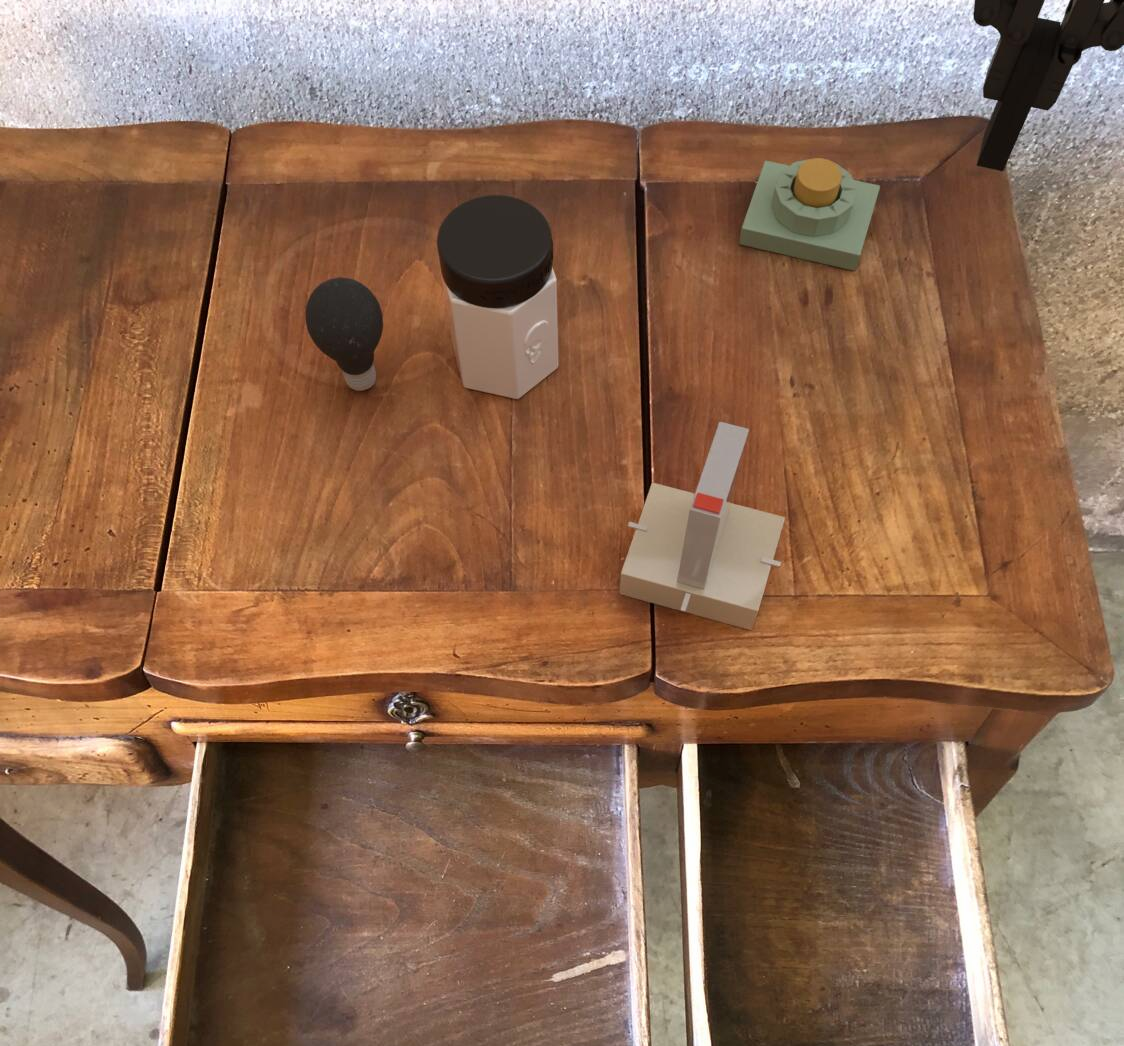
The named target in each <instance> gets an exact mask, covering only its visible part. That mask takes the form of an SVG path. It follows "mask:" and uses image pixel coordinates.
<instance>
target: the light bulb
mask: <svg viewBox="0 0 1124 1046" xmlns="http://www.w3.org/2000/svg"><path fill="white" fill-rule="evenodd" d="M304 319H305V325H306V329H307V332H308V333H307V334H308V335H309V336H310V339H311V340H312V342H313V344H314V345H315V346H316V348H318V350H319V351H321V352H322V353H323V354H324V355H326V356H327V357H328V358H330V359H332V360H333V361H335V363H336V365H337V366H338V368H339V369H340V370H341V371H342V375H343V378H344V381H345V383H346V384H347V386H348V387H349V388H350V389H352V390H354V391H366V390H368V389H370V388H371V387H372V386H373V385H374V384H375V383H376V381H377V375H376V373H377V371H376V368H375V364H374V362H375V361H374V360H375V351H376V349H377V347H378V345H379V343H380V341H381V339H382V335H383V330H384V315H383V312H382V308H381V305H380V302H379V301H378V298H377V297H376V296H375V295H374V293H373V292H372V291H371V290H370V289H369V288H368V287H367V286H366V285H365V284H363V283H362V282H360V281H357V280H355V279H353V278H350V277H349V278H348V277H340V276H339V277H333V278H329V279H327V280H325V281H323V282H321V283H320V284H318V285H317V287H316V288H315V289H313V291H312V292H311V294H310V295H309V298H308V300H307V303H306V306H305V318H304Z"/></svg>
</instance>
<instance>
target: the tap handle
mask: <svg viewBox="0 0 1124 1046" xmlns="http://www.w3.org/2000/svg"><path fill="white" fill-rule="evenodd" d="M749 433H750V428H747V427H743V426H739V425H736V424H732V423H727V422H725V421H724V422H723V421H719V422H718V424H717V427H716V429H715V433H714V435H713V439H712V441H711V445H710V448H709V451H708V454H707V457H706V459H705V462H704V466H703V468H702V471H701V475H700V477H699V480H698V484H697V486H696V489H695V492H694V493H695V495H694V498H693V501H692V504H691V507H690V510H689V516H688V522H687V527H686V533H685V538H684V544H683V550H682V555H681V561H680V567H679V572H678V578H677V582H680V583H684V584H688V585H691V586H695V587H698V588H702V589H704V588H705V585H706V582H707V579H708V576H709V573H710V570H711V567H712V564H713V560H714V557H715V554H716V551H717V548H718V545H719V542H720V539H721V536H722V533H723V529H724V526H725V523H726V520H727V517H728V514H729V511H730V508H731V503H733V499H734V495H735V492H736V491H735V490H736V487H737V484H738V478H739V475H740V470H741V466H742V461H743V458H744V453H745V449H746V446H747V441H748V437H749Z"/></svg>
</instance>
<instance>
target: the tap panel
mask: <svg viewBox="0 0 1124 1046" xmlns="http://www.w3.org/2000/svg"><path fill="white" fill-rule="evenodd" d="M694 495H695V492H692V491H691V492H690V491H686V490H683V489H679V488H676V487H671V486H668V485H664V484H660V483H656V482H651V484H650V487H649V489H648V492H647V496H646V498H645V502H644V505H643V507H642V510H641V514H640V516H639V519H638V521H637V523H636V522H633V521H628V525H627V527H628V528H631V529H635V530H634V533H633V537H632V539H631V542H630V545H629V547H628V551H627V554H626V556H625V560H624V563H623V566H622V569H621V571H620V579H619V591H618V593H619V595H622V596H625V597H629V598H633V599H636V600H640V601H642V602H647V603H649V604H650V603H651V604H655V605H658V606H661V607H665V608H668V609H671V610H676V611H680V612H683V613H687V614H691V615H693V616H698V617H702V618H704V619H708V620H712V621H716V622H718V623H719V622H720V623H724V624H727V625H730V626H734V627H737V628H741V629H746V630H748V631H752V630H753V628H754V625H755V623H756V619H757V616H758V613H759V610H760V607H761V603H762V601H763V600H762V599H763V596H764V593H765V589H766V586H767V582H768V579H769V576H770V573H771V569H772V566H774V567H777V568H781V565H782V561H779V560H775V559H774V558H775V555H776V551H777V548H778V544H779V542H780V538H781V534H782V530H783V527H784V524H785V520H786V517H785V516H783V515H782V516H781V515H779V514H774V513H770V512H767V511H764V510H760V509H755V508H752V507H747V506H744V505H740V504H737V503H733V502H732V503H731V508H730V511H729V514H728V517H727V520H726V523H725V526H724V529H723V533H722V536H721V539H720V542H719V545H718V548H717V551H716V554H715V557H714V560H713V564H712V567H711V570H710V573H709V576H708V579H707V582H706V585H705V588H704V589H702V588H698V587H695V586H691V585H688V584H684V583H680V582H677V578H678V572H679V567H680V561H681V555H682V550H683V544H684V538H685V533H686V527H687V522H688V516H689V510H690V507H691V504H692V501H693V498H694Z"/></svg>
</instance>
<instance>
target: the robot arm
mask: <svg viewBox="0 0 1124 1046" xmlns="http://www.w3.org/2000/svg"><path fill="white" fill-rule="evenodd" d="M1045 1H1046V0H974V5H973V13H972V16H973V21H974V22H975V24H976V25H978V26H979V27H984V28H985V27H990V26H991V27H992V28H994V29H995V30H996V31H997V33H999V39H998V42H997V44H996V47H995V50H994V53H993V54H992V57H991V60H990V63H989V65H988V68H987V70H986V75H985V77H984V78H985V79H984V82H983V87H982V97H983V99H987V100H991V101H992V100H993V101H996V103H995V106H994V109H993V111H992V113H991V116H990V118H989V121H988V123H987V125H986V128H985V131H984V134H983V138H982V142H981V146H980V150H979V154H978V158H977V163H976V167H982V168H985V169H991V170H995V171H999V172H1004V170H1005V168H1006V166H1007V164H1008V162H1009V159H1010V158H1011V155H1012V152H1013V150H1014V148H1015V145H1016V143H1017V141H1018V139H1019V136H1020V134H1021V132H1022V129H1023V128H1024V125H1025V122H1026V120H1027V118H1028V116H1029V113H1030V111H1031V110H1032V108H1033V109H1038V110H1042V111H1047V112H1048V111H1050V109H1051V108H1052V107H1054V105H1055V104H1056V103H1057V101H1058V99H1059V97H1060V94H1061V92H1062V90H1063V88H1064V86H1065V83H1066V82H1067V79H1068V77H1069V75H1070V73H1071V71H1072V69H1073V66H1074V65H1076V64H1077V63H1078V62H1079V61H1080V60H1081V58H1082V54H1083V52H1084V51H1086V50H1088V49H1090V48H1097V47H1101V48H1102V49H1103V50H1104V51H1106V52H1115V51H1118V50H1119V49H1121V48H1123V47H1124V0H1109V1H1108V2H1105V0H1069V1H1068V4H1067V5H1066V8H1065V10H1064V14H1063V15H1064V16H1063V18H1062V20H1061V21H1057V20H1052V19H1048V18H1043V17H1039V16H1040V14H1041V10H1042V8H1043V7H1044V6H1043V5H1044V4H1045Z"/></svg>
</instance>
